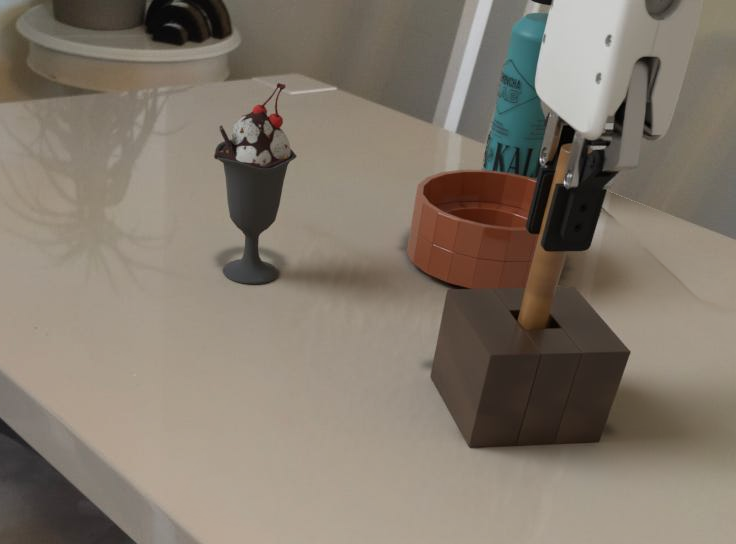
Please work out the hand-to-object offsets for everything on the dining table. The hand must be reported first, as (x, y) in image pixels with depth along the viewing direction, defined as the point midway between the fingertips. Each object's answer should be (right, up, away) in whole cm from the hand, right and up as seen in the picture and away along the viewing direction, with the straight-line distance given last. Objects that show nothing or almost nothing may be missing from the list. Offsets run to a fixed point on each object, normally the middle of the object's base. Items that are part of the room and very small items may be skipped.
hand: (556, 238), depth 63 cm
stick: (-1, -9, +9) cm, 12 cm away
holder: (-1, -9, +9) cm, 13 cm away
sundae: (-20, +6, +23) cm, 32 cm away
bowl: (+1, +9, +27) cm, 29 cm away
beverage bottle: (+7, +20, +40) cm, 45 cm away
